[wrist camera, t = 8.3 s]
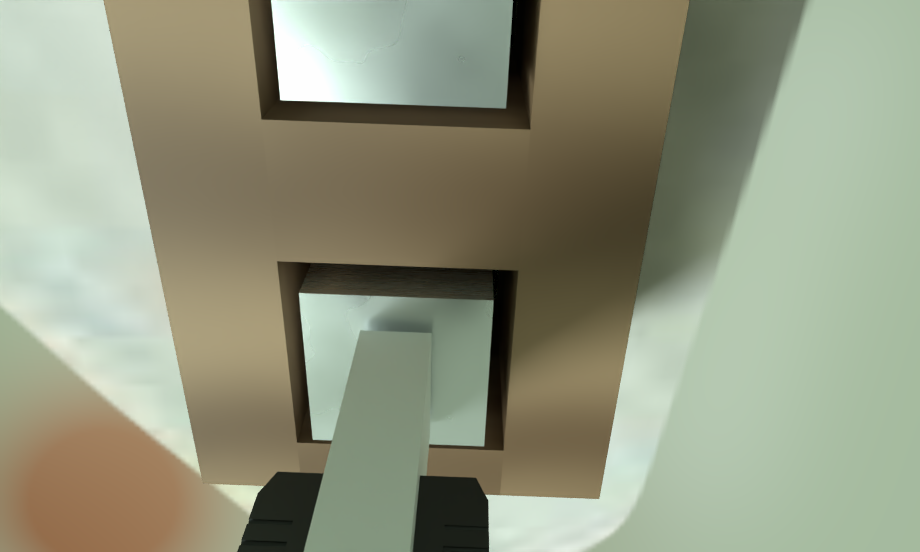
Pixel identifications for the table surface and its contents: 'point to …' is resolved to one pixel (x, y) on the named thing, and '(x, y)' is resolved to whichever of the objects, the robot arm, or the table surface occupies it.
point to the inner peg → (394, 51)
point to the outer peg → (401, 310)
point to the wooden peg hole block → (402, 222)
